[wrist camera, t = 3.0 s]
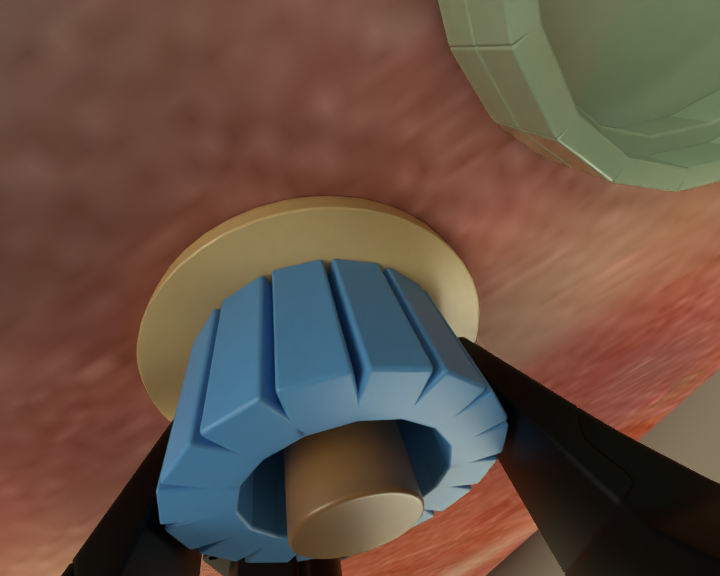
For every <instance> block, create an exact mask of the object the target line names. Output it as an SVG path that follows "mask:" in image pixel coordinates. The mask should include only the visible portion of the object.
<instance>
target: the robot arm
mask: <svg viewBox="0 0 720 576" xmlns="http://www.w3.org/2000/svg"><path fill="white" fill-rule="evenodd" d="M457 338H458V339H459V341H460V342H461V344H462V345H463V347H464V348H465V349H466V351H467V352H468V354H469V355H470V357H471V358H472V360H473V361H474V363H475V364H476V366H477V367H478V369H479V370H480V372H481V373H482V375H483V376H484V378H485V379H486V381H487V382H488V384H489V385H490V387H491V388H492V390H493V391H494V393H495V394H496V396H497V398H498V400H499V402H500V403H501V405H502V407H503V409H504V411H505V412H506V414H507V419H506V421H507V423H508V430H507V434H506V438H505V443H504V447H503V451H502V452H501V453H498V454H497V457H498V460H499V461H500V463H501V465H502V467H503V468H504V470H505V472H506V473H507V475H508V477H509V479H510V480H511V482H512V484H513V486H514V487H515V489H516V491H517V492H518V494H519V496H520V498H521V499H522V501H523V503H524V505H525V506H526V508H527V510H528V511H529V513H530V515H531V517H532V518H533V520H534V522H535V524H536V525H537V527H538V529H539V530H540V532H541V534H542V536H543V537H544V539H545V541H546V543H547V544H548V546H549V548H550V550H551V551H552V553H553V555H554V556H555V558H556V560H557V562H558V563H559V565H560V567H561V569H562V570H563V572H565V576H720V484H719V483H717V482H715V481H712V480H710V479H708V478H706V477H704V476H702V475H700V474H698V473H696V472H695V471H693V470H691V469H689V468H687V467H685V466H683V465H681V464H679V463H677V462H675V461H673V460H672V459H670V458H668V457H666V456H664V455H662V454H660V453H658V452H656V451H654V450H652V449H651V448H649V447H647V446H645V445H643V444H641V443H639V442H637V441H635V440H634V439H632V438H630V437H628V436H626V435H624V434H623V433H621V432H619V431H617V430H615V429H614V428H612V427H610V426H609V425H607V424H605V423H603V422H602V421H600V420H598V419H597V418H595V417H593V416H592V415H590V414H588V413H587V412H585V411H584V410H582V409H580V408H577V407H576V406H575V405H574V404H572V403H570V402H569V401H567V400H566V399H564V398H562V397H561V396H559V395H558V394H556V393H554V392H553V391H551V390H549V389H548V388H546V387H545V386H543V385H541V384H540V383H538V382H537V381H535V380H533V379H532V378H530V377H528V376H527V375H525V374H524V373H522V372H520V371H519V370H517V369H516V368H514V367H512V366H511V365H509V364H507V363H506V362H504V361H503V360H501V359H499V358H498V357H496V356H495V355H493V354H491V353H490V352H488V351H486V350H485V349H483V348H482V347H480V346H478V345H477V344H475V343H473V342H472V341H470V340H469V339H467V338H465V337H457ZM173 421H174V419H173V420H172V422H171V423H170V425H169V426H168V427H167V429H166V430H165V432H164V433H163V434H162V436H161V437H160V439H159V440H158V441H157V443H156V444H155V446H154V447H153V448H152V450H151V451H150V453H149V454H148V455H147V457H146V458H145V460H144V461H143V462H142V464H141V465H140V467H139V468H138V469H137V471H136V472H135V474H134V475H133V476H132V478H131V479H130V481H129V482H128V483H127V485H126V486H125V488H124V489H123V490H122V492H121V493H120V495H119V496H118V497H117V499H116V500H115V501H114V503H113V504H112V506H111V507H110V508H109V510H108V511H107V513H106V514H105V515H104V517H103V518H102V520H101V521H100V522H99V524H98V525H97V527H96V528H95V529H94V531H93V532H92V534H91V535H90V536H89V538H88V539H87V541H86V542H85V543H84V545H83V546H82V548H81V549H80V550H79V552H78V553H77V555H76V556H75V557H74V559H73V563H71V564H69V566H68V567H67V568H66V570H65V571H64V573H63V574H62V575H61V576H199V575H200V565H201V556H202V554H201V553H199V547H198V548H195V549H189V548H187V547H186V546H185V545H183V544H182V543H181V542H180V541H178V540H177V539H176V538H174V537H173V536H172V535H170V534H169V533H168V532H167V531H166V530H165V525H166V524H160V520H159V511H158V503H157V494H156V490H157V486H158V482H159V478H160V474H161V470H162V466H163V462H164V458H165V454H166V450H167V446H168V442H169V438H170V434H171V430H172V426H173ZM349 557H350V556H346V557H340V558H332V559H309V560H304V561H297V559H296V555H295V556H294V557H293V558H292V559H291V560H290V561H288V562H272V563H247V562H245V557H244V558H242V559H240V560H238V561H231V560H227V559H223V558H218V557H214V556H209V555H205V554H203V560H204V561H205V562H206V563H207V564H209V565H210V566H211V567H213V568H214V569H215V570H217V571H218V572H219V573H220V574H222V575H223V576H342V570H341V564H340V561H341V560H344V559H347V558H349Z"/></svg>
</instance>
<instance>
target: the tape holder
mask: <svg viewBox="0 0 720 576" xmlns="http://www.w3.org/2000/svg"><path fill="white" fill-rule="evenodd" d="M319 259H320V260H322V261H323V262H324V266H325V269H326V273H327V276H328V275H329V271H330V266H331V262H332V260H333V259H342V260H351V261H360V262H368V263H376V264H378V265H379V266H380V268H381V270H382V272H383V271H384V270H385V268H387V267H389V268H391V269H393V270H395V271H396V272H398V273H400V274H402V275H403V276H405V277H407V278H409V279H410V280H412V281H414V282H415V283H417V284H419V285H420V287H421V288H422V290H425V291H426V292H427V293H428V295H429V296H430V298H431V299H432V300H433V302H434V303H435V305H436V306H437V308H438V309H439V311H440V312H441V314H442V315H443V317H444V318H445V320H446V321H447V323H448V324H449V326H450V327H451V329H452V330H453V332H454V333H455V335H456V336H457V337H465V338H467V339H469V340H470V341H472V342H473V343H475V341H476V338H477V333H478V327H479V311H480V308H479V302H478V295H477V291H476V288H475V285H474V282H473V279H472V276H471V275H470V273H469V271H468V269H467V267H466V266H465V264H464V262H463V261H462V260H461V259H460V257H459V256H458V255H457V254H456V253H455V251H454V250H453V249H452V248H451V247H450V246H449V245H448V244H447V243H446V242H445V240H444V239H443V238H442V237H441V236H439V235H438V234H437V233H436V232H435V231H434V230H432V229H431V228H430V227H429V226H428V225H427V224H425V223H423V222H422V221H420V220H418V219H417V218H415V217H413V216H412V215H410V214H408V213H406V212H404V211H401V210H399V209H396V208H394V207H391V206H389V205H386V204H382V203H378V202H374V201H370V200H367V199H362V198H353V197H344V196H308V197H301V198H295V199H288V200H281V201H278V202H274V203H271V204H267V205H264V206H260V207H257V208H253V209H251V210H249V211H246V212H244V213H242V214H239V215H237V216H235V217H232V218H230V219H228V220H226V221H225V222H223V223H221V224H220V225H218V226H216V227H215V228H213V229H211V230H210V231H208V232H206V233H205V234H203V235H202V236H201V237H200V238H198V239H197V240H196V241H195V242H194V243H192V244H191V245H190V246H189V247H187V248H186V249H185V250H184V251H183V252H182V253H181V254H180V256H179V257H178V258H177V259H176V260H175V261H174V262H173V263H172V264H171V265H170V267H169V268H168V269H167V271H166V272H165V274H164V276H163V277H162V279H161V280H160V282H159V283H158V285H157V287H156V289H155V291H154V293H153V295H152V297H151V299H150V302H149V304H148V306H147V309H146V311H145V314H144V316H143V318H142V321H141V324H140V329H139V334H138V339H137V363H138V367H139V372H140V376H141V380H142V383H143V385H144V387H145V389H146V391H147V393H148V396H149V397H150V399H151V400H152V401H153V403H154V404H155V406H156V407H157V409H158V410H159V411H160V412H161V413H162V414H163V415H164V416H165V417H166V418H167V419H168V420H169V421H170V422H172V420H173V419H174V417H175V413H176V409H177V405H178V401H179V397H180V393H181V389H182V385H183V381H184V377H185V373H186V369H187V365H188V361H189V357H190V353H191V350H192V348H193V344H194V341H195V339H196V337H197V336H198V334H199V332H200V331H201V329H202V328H203V326H204V324H205V323H206V321H207V320H208V318H209V316H210V315H211V313H212V312H213V310H214V309H220V310H221V306H222V302H223V300H225V299H226V298H228V297H229V296H231V295H232V294H234V293H235V292H237V291H238V290H240V289H241V288H243V287H244V286H246V285H247V284H249V283H251V282H252V281H254V280H255V279H257V278H258V277H260V276H263V277H265V278H266V279H267V280H268V281H269V282H270V283H271V284H272V272H273V271H274V270H276V269H281V268H285V267H289V266H293V265H298V264H302V263H306V262H310V261H315V260H319ZM283 450H284V472H285V493H286V515H287V537H288V544H289V546H290V548H291V550H292V551H293V552H294V553H296V554H298V555H300V556H303V557H307V558H314V559H332V558H340V557H346V556H351V555H355V554H359V553H362V552H366V551H369V550H371V549H374V548H377V547H379V546H382V545H384V544H386V543H388V542H390V541H392V540H394V539H396V538H397V537H399V536H400V535H402V534H403V533H405V532H406V531H408V530H409V529H410V528H411V527H412V526H414V525H415V524H416V523H417V521H418V520H419V519H420V518H421V516H422V514H423V512H424V499H423V496H422V493H421V490H420V488H419V485H418V482H417V479H416V476H415V473H414V471H413V468H412V465H411V462H410V459H409V456H408V454H407V451H406V448H405V445H404V442H403V440H402V437H401V434H400V431H399V428H398V425H397V423H396V420H375V421H357V422H353V423H350V424H346V425H343V426H339V427H336V428H332V429H329V430H326V431H322V432H319V433H315V434H312V435H308V436H305V437H303V438H301V439H299V440H298V441H296V442H294V443H292V444H291V445H289V446H287V447H285V448H283Z"/></svg>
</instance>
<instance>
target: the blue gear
mask: <svg viewBox="0 0 720 576" xmlns="http://www.w3.org/2000/svg"><path fill="white" fill-rule="evenodd" d="M506 419H507V414H506V412H505V411H504V409H503V407H502V405H501V403H500V402H499V400H498V398H497V396H496V394H495V393H494V391H493V390H492V388H491V387H490V385H489V384H488V382H487V381H486V379H485V378H484V376H483V375H482V373H481V372H480V370H479V369H478V367H477V366H476V364H475V363H474V361H473V360H472V358H471V357H470V355H469V354H468V352H467V351H466V349H465V348H464V347H463V345H462V344H461V342H460V341H459V339H458V338H457V336H456V335H455V333H454V332H453V330H452V329H451V327H450V326H449V324H448V323H447V321H446V320H445V318H444V317H443V315H442V314H441V312H440V311H439V309H438V308H437V306H436V305H435V303H434V302H433V300H432V299H431V298H430V296H429V295H428V293H427V292H426V291H425V290H422V288H421V287H420V285H419V284H417V283H415V282H414V281H412V280H410V279H409V278H407V277H405V276H403V275H402V274H400V273H398V272H396V271H395V270H393V269H391V268H389V267H387V268H385V270H384V271H383V272H382V270H381V268H380V266H379V265H378V264H376V263H368V262H360V261H351V260H342V259H333V260H332V262H331V266H330V271H329V275H328V276H327V273H326V269H325V266H324V262H323V261H322V260H320V259H319V260H315V261H310V262H306V263H302V264H298V265H293V266H289V267H285V268H281V269H276V270H274V271H273V272H272V284H271V283H270V282H269V281H268V280H267V279H266V278H265V277H263V276H260V277H258V278H257V279H255V280H254V281H252V282H251V283H249V284H247V285H246V286H244V287H243V288H241V289H240V290H238V291H237V292H235V293H234V294H232V295H231V296H229V297H228V298H226V299H225V300H223V302H222V306H221V310H220V309H214V310H213V312H212V313H211V315H210V316H209V318H208V320H207V321H206V323H205V324H204V326H203V328H202V329H201V331H200V332H199V334H198V336H197V337H196V339H195V341H194V344H193V348H192V350H191V353H190V357H189V361H188V365H187V369H186V373H185V377H184V381H183V385H182V389H181V393H180V397H179V401H178V405H177V409H176V413H175V417H174V421H173V426H172V430H171V434H170V438H169V442H168V446H167V450H166V454H165V458H164V462H163V466H162V470H161V474H160V478H159V482H158V486H157V490H156V494H157V503H158V511H159V520H160V524H166V525H165V530H166V531H167V532H168V533H169V534H170V535H172V536H173V537H174V538H176V539H177V540H178V541H180V542H181V543H182V544H183V545H185V546H186V547H187V548H189V549H195V548H198V547H199V553H201V554H205V555H209V556H214V557H218V558H223V559H227V560H231V561H238V560H240V559H242V558H244V557H245V562H247V563H272V562H288V561H290V560H291V559H292V558H293V557H294V556H295V555H296V559H297V561H304V560H309V559H314V558H307V557H303V556H300V555H298V554H296V553H294V552H293V551H292V550H291V548H290V546H289V544H288V537H287V515H286V493H285V472H284V450H283V448H285V447H287V446H289V445H291V444H292V443H294V442H296V441H298V440H299V439H301V438H303V437H305V436H308V435H312V434H315V433H319V432H322V431H326V430H329V429H332V428H336V427H339V426H343V425H346V424H350V423H353V422H357V421H375V420H396V423H397V425H398V428H399V431H400V434H401V437H402V440H403V442H404V445H405V448H406V451H407V454H408V456H409V459H410V462H411V465H412V468H413V471H414V473H415V476H416V479H417V482H418V485H419V488H420V490H421V493H422V496H423V499H424V512H423V514H422V516H421V518H420V519H419V520H418V521H417V523H416V524H415V525H414V526H416V525H418V524H420V523H422V522H424V521H426V520H428V519H430V518H432V517H433V516H434V512H433V511H443V510H445V509H446V508H447V507H449V506H450V505H452V504H453V503H454V502H456V501H457V500H458V499H460V498H461V497H462V496H464V495H465V494H466V493H468V492H469V491H470V490H471V485H470V484H477V483H479V481H480V480H481V479H482V478H483V477H484V475H485V474H486V473H487V472H488V470H489V469H490V468H491V467H492V465H493V464H494V463H495V462H496V460H497V458H498V457H497V454H498V453H501V452H502V451H503V447H504V443H505V438H506V434H507V430H508V423H507V421H506ZM414 526H412V527H414ZM412 527H411V528H412Z"/></svg>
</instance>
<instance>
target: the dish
mask: <svg viewBox="0 0 720 576" xmlns="http://www.w3.org/2000/svg"><path fill="white" fill-rule="evenodd" d="M438 3H439V7H440V11H441V15H442V20H443V24H444V28H445V32H446V36H447V40H448V44H449V46H450V47H451V48H450V50H451V52H452V54H453V56H454V57H455V59H456V61H457V63H458V64H459V66H460V68H461V69H462V71H463V73H464V74H465V76H466V78H467V79H468V81H469V83H470V84H471V86H472V88H473V89H474V91H475V93H476V94H477V96H478V98H479V99H480V101H481V103H482V104H483V106H484V108H485V109H486V111H487V113H488V114H489V116H490V118H491V119H492V120H493V121H494V123H496V124H497V125H498V126H500V127H501V128H503V129H504V130H505V131H507V132H508V133H510V134H511V135H512V136H514V137H515V138H517V139H518V140H519V141H521V142H522V143H524V144H525V145H526V146H528V147H529V148H531V149H532V150H533V151H535V152H536V153H538V154H539V155H540V156H542V157H544V158H547V159H550V160H552V161H555V162H558V163H560V164H563V165H566V166H568V167H571V168H574V169H576V170H579V171H581V172H584V173H587V174H589V175H592V176H595V177H597V178H600V179H603V180H605V181H608V182H611V183H614V184H621V185H628V186H635V187H642V188H649V189H656V190H663V191H670V192H675V191H682V190H687V189H691V188H695V187H699V186H703V185H707V184H711V183H716V182H720V0H438Z"/></svg>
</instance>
